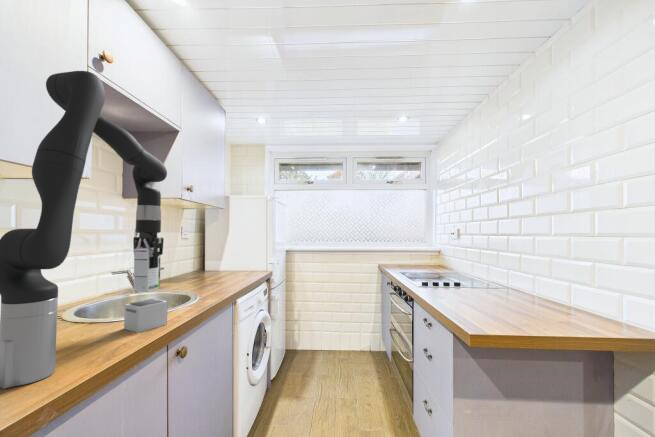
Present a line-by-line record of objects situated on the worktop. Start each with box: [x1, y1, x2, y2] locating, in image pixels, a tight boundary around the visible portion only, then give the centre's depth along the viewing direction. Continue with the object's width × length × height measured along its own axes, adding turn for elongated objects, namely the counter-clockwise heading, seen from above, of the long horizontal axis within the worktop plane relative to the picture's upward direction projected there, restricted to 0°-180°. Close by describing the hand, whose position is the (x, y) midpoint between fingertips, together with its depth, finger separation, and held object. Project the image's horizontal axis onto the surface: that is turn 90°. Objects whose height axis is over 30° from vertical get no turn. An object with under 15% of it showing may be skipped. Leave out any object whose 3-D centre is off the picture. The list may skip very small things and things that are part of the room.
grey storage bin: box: [123, 298, 168, 334], centre depth 104 cm, size 10×8×8 cm
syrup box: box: [133, 248, 161, 293], centre depth 105 cm, size 6×6×14 cm
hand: (147, 267), depth 105 cm, fingers closed on syrup box, 6 cm apart
